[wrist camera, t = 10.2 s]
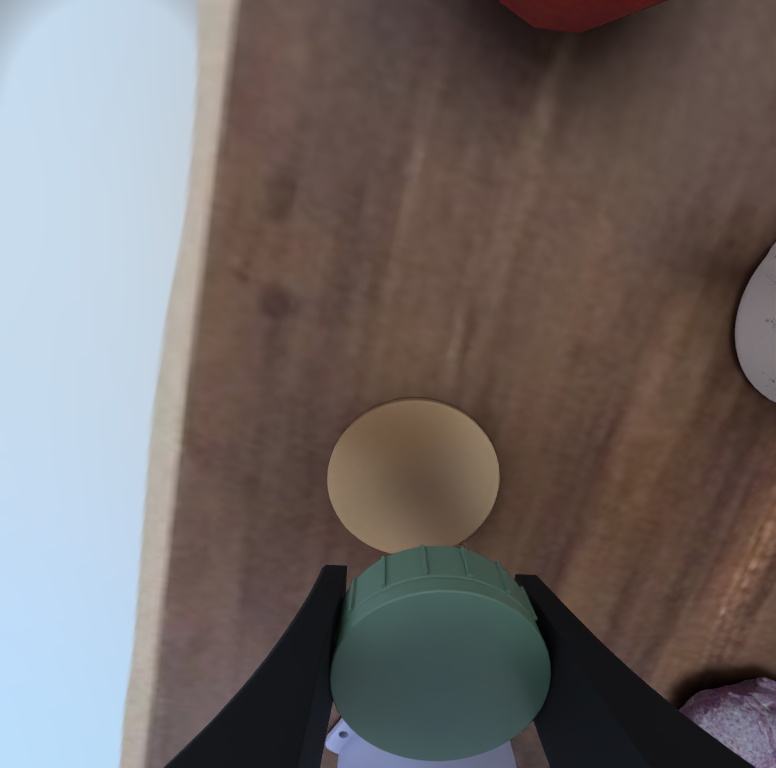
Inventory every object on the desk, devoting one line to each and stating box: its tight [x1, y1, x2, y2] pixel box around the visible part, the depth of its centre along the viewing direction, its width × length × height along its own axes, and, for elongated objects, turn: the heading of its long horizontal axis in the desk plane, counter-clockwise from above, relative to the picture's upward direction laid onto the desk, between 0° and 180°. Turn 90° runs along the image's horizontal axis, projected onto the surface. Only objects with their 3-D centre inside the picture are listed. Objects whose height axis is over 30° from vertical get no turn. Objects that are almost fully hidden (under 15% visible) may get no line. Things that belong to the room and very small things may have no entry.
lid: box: [329, 544, 551, 761], centre depth 10 cm, size 5×5×2 cm
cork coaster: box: [327, 398, 500, 554], centre depth 18 cm, size 8×8×1 cm
